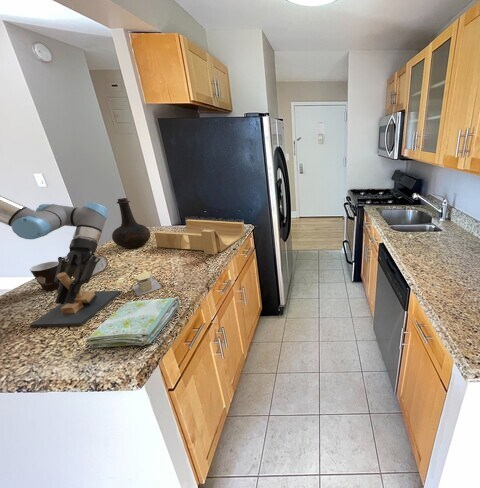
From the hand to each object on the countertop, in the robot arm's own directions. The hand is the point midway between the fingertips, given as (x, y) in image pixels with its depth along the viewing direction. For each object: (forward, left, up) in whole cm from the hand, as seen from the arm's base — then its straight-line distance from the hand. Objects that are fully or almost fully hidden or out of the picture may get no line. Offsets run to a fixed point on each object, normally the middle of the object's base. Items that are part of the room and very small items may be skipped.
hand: (64, 303), depth 90 cm
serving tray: (0, +5, -6) cm, 7 cm away
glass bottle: (-18, +68, -6) cm, 70 cm away
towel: (+28, -7, -6) cm, 29 cm away
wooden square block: (0, +2, -4) cm, 5 cm away
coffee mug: (-22, +21, -6) cm, 31 cm away
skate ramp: (+20, +69, -6) cm, 72 cm away
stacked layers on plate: (+16, +19, -6) cm, 25 cm away
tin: (-15, +32, -6) cm, 35 cm away
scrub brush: (0, +6, -4) cm, 8 cm away
